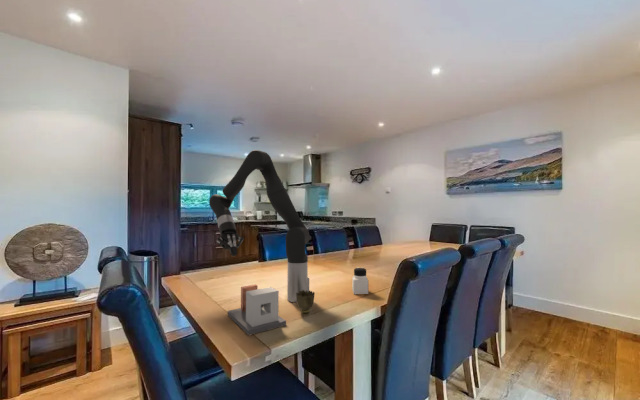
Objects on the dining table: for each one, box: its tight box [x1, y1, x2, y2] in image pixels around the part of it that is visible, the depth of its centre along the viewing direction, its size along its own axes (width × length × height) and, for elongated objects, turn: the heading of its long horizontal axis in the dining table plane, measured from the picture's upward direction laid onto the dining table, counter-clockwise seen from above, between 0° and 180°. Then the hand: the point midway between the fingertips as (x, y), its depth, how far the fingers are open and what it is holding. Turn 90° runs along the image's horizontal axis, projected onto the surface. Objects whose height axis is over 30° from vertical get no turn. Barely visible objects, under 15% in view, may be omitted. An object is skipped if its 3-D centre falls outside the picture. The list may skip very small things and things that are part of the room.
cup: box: [296, 290, 316, 315], centre depth 112 cm, size 8×7×8 cm
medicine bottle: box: [351, 267, 369, 295], centre depth 139 cm, size 7×7×12 cm
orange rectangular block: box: [240, 284, 264, 312], centre depth 106 cm, size 6×11×9 cm, turn 36°
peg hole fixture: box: [227, 286, 287, 336], centre depth 105 cm, size 14×22×12 cm, turn 36°
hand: (234, 255), depth 124 cm, fingers closed
